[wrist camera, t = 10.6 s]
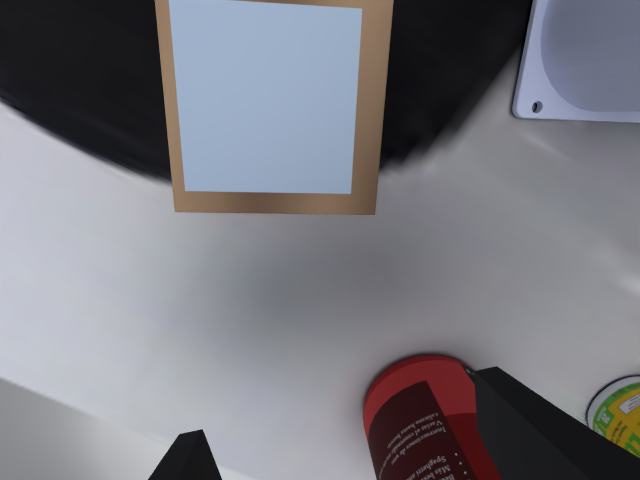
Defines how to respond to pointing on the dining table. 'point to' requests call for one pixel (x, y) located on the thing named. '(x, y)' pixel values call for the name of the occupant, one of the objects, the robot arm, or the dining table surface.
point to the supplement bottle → (618, 414)
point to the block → (266, 95)
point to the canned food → (426, 422)
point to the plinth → (366, 139)
